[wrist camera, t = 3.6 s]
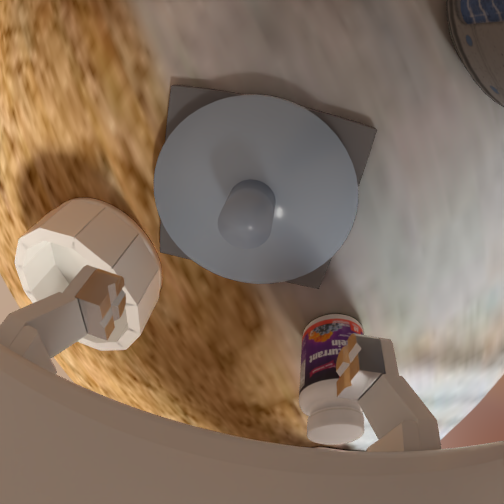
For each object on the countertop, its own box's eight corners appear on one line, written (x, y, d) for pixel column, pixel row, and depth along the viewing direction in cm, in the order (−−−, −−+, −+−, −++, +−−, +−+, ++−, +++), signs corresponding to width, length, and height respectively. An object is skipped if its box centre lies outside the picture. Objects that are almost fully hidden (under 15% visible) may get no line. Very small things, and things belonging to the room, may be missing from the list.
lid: (383, 126, 16) (403, 143, 12) (321, 292, 23) (322, 330, 20) (167, 80, 16) (137, 86, 13) (156, 254, 23) (136, 286, 20)
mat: (374, 127, 16) (377, 130, 16) (318, 283, 23) (318, 289, 23) (175, 84, 16) (171, 85, 16) (162, 247, 23) (160, 252, 23)
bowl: (163, 213, 21) (133, 253, 17) (163, 324, 28) (145, 366, 24) (40, 187, 22) (1, 216, 17) (61, 291, 28) (37, 324, 24)
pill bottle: (366, 309, 24) (381, 416, 16) (360, 350, 27) (368, 445, 19) (300, 312, 25) (294, 421, 17) (302, 353, 28) (297, 449, 20)
